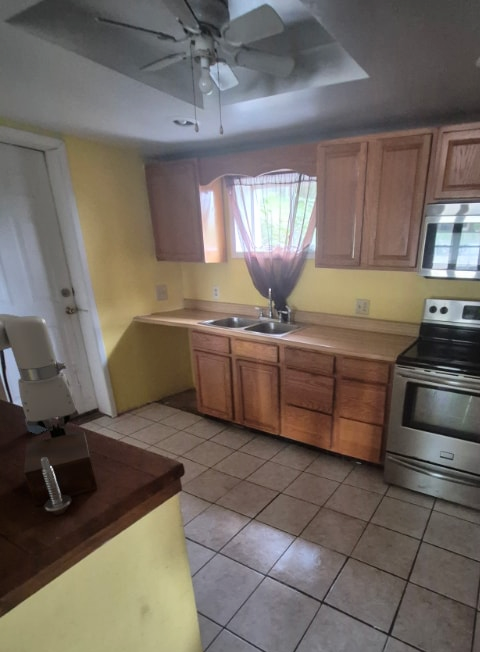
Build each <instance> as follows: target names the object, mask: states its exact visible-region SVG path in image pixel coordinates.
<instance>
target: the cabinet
mask: <svg viewBox="0 0 480 652" xmlns="http://www.w3.org/2000/svg"><path fill="white" fill-rule="evenodd" d="M68 434H69V435H64V436H60V437H55V438H52V437H50V438H51V439H47V438H45V439H46V440H45V439H42V440H37V441H32V442H28V443H26V447H25V448H26V449H25V450H26V451H25V460H24V461H25V463H24V472H23V474H24V477H25V480H26V482H27V485H28V489H29V491H30V494H31V497H32V500H33V503H34V505H35V508H38V507H41V506H44V504H45V503H46V502H47V501H48V500H49V499H51V498H50V497H51V496H50V494H49V491H48V490H49V489H47V488H48V487H47V484H46V482H45V480H46V479H44V478H45V477H44V476H43V475H44V474H42V473H43V471H42V470H43V468H42V464H41V459H42V458H43V457H47V458H48V460H49V463H50V466H52V468H53V471H54V473H55V476H56V477H55V478H56V481H57V483H58V486H59V487H58V488H59V490H60V493H61V495H67V496H70V497H71V498H72V497H76V496H80V495H83V494H86V493H90V492H92V491H97V490H98V489H99V488H98V484H97V480H96V479H97V478H96V474H95V470H94V464H93V460H92V456H91V451H90V448H89V444H88V440H87V437H86V436H87V435H86V432H85V431H84V430H83V431H79V432H74V434H73V433H72V434H70V433H68Z"/></svg>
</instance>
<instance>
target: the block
mask: <svg viewBox="0 0 480 652" xmlns="http://www.w3.org/2000/svg"><path fill="white" fill-rule="evenodd" d="M24 422H25V425H26V429H27V431H29V432H28V433H31V432H32V433H31V434H34V433H35V434H34V435H39V434H41V432H42V433H44V432H47V431H48V430H47V429H46V428H43V427H41V426H28V425H27V419H26V418H25V419H24ZM46 430H47V431H46ZM43 431H44V432H43Z"/></svg>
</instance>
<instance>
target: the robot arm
mask: <svg viewBox="0 0 480 652" xmlns="http://www.w3.org/2000/svg"><path fill="white" fill-rule="evenodd" d="M8 349H11V351H12V355H13V358H14V361H15V365H16V367H17V371H18V372H19V377H20V378H19V379H18V383H17V384H18V392H19V398H20V402H21V405H22V406H21V407H22V410H23V413H24V416H25V419H27V425H28V426H41V427H43V428H46V429H47V431H48V432H49V434H50V438H55V437H60V436H64V435H66V434H67V433H66V429H65V427H66V425H67V424H68V422H69V421H70V420H72V419H75V418H76V417H79V416H80V412H79V410H78V408H77V407H76V401H75V397H74V393H73V390H72V388H71V385H70V383H69V380H68V378H67V376H66V374H65V372H63V371H64V370H66V369H67V366H66V363H65V362H63V363H60V362H58V360H57V356H56V352H55V349H54V346H53V341H52V338H51V334H50V331H49V327H48V324H47V321H46V320H45V319H44V318H43V317H41V316H36V315H22V316H19V315H14V314H8V313H0V352H1V351H5V350H8ZM52 419H57V423H56V424H54V423H53V421H52ZM27 425H26V426H27Z"/></svg>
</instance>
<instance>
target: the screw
mask: <svg viewBox="0 0 480 652" xmlns="http://www.w3.org/2000/svg"><path fill="white" fill-rule="evenodd" d="M41 464H42V468H43V470H42V471H43V473H42V474H44V475H43V476H44V477H45V478H44V479H46V480H45V482H46V484H47V487H48V488H47V489H49V490H48V491H49V494H50V496H51V497H50V498H51V499H49V500H48V501H47V502H46V503H45V504H44V505H43V510H44V511H45V512H48V513H52V514H53V515H55V516H59V515H62V514H65V513H66V512H67V510H68V509H69V507H68V506H70V505H71V503H73V502H72V497H70V496H67V495H61V493H60V490H59V488H58V487H59V486H58V483H57V481H56V478H55V477H56V476H55V473H54V471H53V468H52V466H50V463H49V460H48V458H47V457H43V458H42V459H41Z"/></svg>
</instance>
